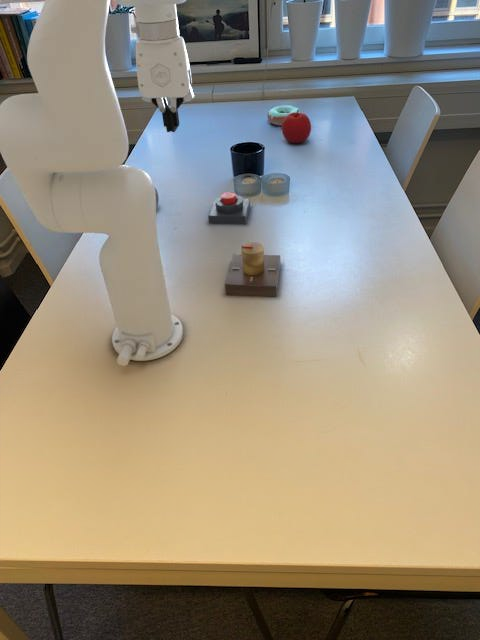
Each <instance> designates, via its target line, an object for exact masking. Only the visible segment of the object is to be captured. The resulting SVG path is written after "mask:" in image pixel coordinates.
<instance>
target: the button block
mask: <svg viewBox="0 0 480 640" xmlns="http://www.w3.org/2000/svg"><path fill="white" fill-rule="evenodd" d="M236 201H237V202H236V203H234V204H223V203H222V198H221V195H220V196H218V197H217V198H214V200H213V202H212V204H211V208H210V210H209V212H208V224H211V225H212V224H213V225H246V224H247V221H248V217H249V213H250V211H251V199H250V198H242V196H241V195H237V194H236Z"/></svg>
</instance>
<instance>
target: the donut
mask: <svg viewBox="0 0 480 640" xmlns="http://www.w3.org/2000/svg"><path fill="white" fill-rule="evenodd" d="M297 110H299V111H298V113H302V112H301V110H300V109H299V108H298V107H297V106H292V105H280V106H274V107H273V108H271V109H270V110H269V111H268V112H267V116H266V117H267V120H268V122H269V123H271V124H272V125H274V126H280V127H282V123H283V120H284V119H285V117H286V116H287V115H289V114H290V113H297Z"/></svg>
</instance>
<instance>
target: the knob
mask: <svg viewBox="0 0 480 640" xmlns="http://www.w3.org/2000/svg"><path fill="white" fill-rule="evenodd" d="M240 249H241V254H242V267H243V272H244V273H246V274H248V275H258V274H261V273H262V272H263V271H264V255H265V246H264V245H263V244H262V243H260V242H257V241H250V242H249V241H248V242H246V243H244V244H242V245H241V247H240Z"/></svg>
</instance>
